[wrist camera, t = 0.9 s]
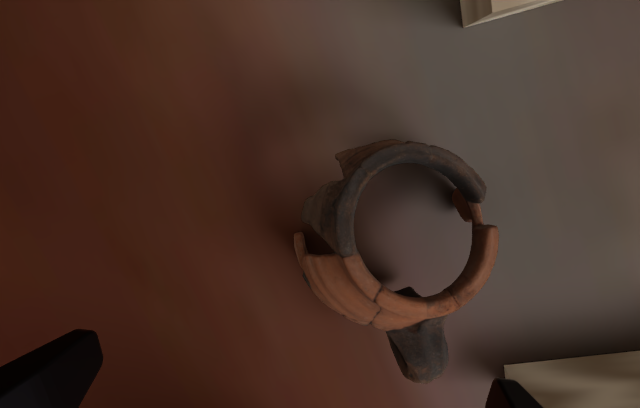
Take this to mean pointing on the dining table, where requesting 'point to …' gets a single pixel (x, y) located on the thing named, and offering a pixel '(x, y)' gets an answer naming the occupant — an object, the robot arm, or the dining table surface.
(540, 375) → the birch bracket
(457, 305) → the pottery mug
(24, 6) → the dining table surface
